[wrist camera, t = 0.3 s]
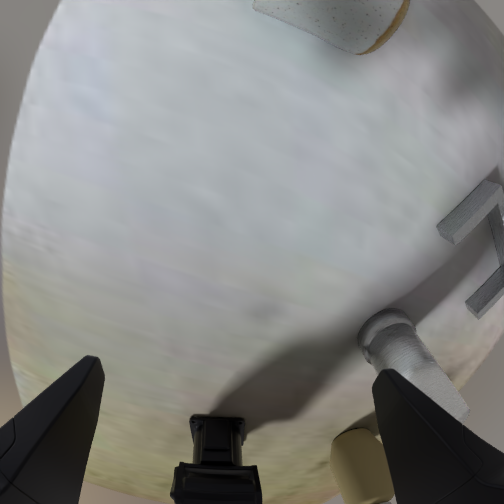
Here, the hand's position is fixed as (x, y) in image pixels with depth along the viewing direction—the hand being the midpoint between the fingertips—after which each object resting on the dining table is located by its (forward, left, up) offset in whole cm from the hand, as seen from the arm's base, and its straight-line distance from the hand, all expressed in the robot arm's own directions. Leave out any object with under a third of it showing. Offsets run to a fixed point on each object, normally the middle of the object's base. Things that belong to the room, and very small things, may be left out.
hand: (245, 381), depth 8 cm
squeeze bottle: (-32, -17, -16) cm, 39 cm away
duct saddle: (0, -27, -15) cm, 31 cm away
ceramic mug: (+18, -5, -16) cm, 25 cm away
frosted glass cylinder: (-11, -15, -15) cm, 24 cm away
